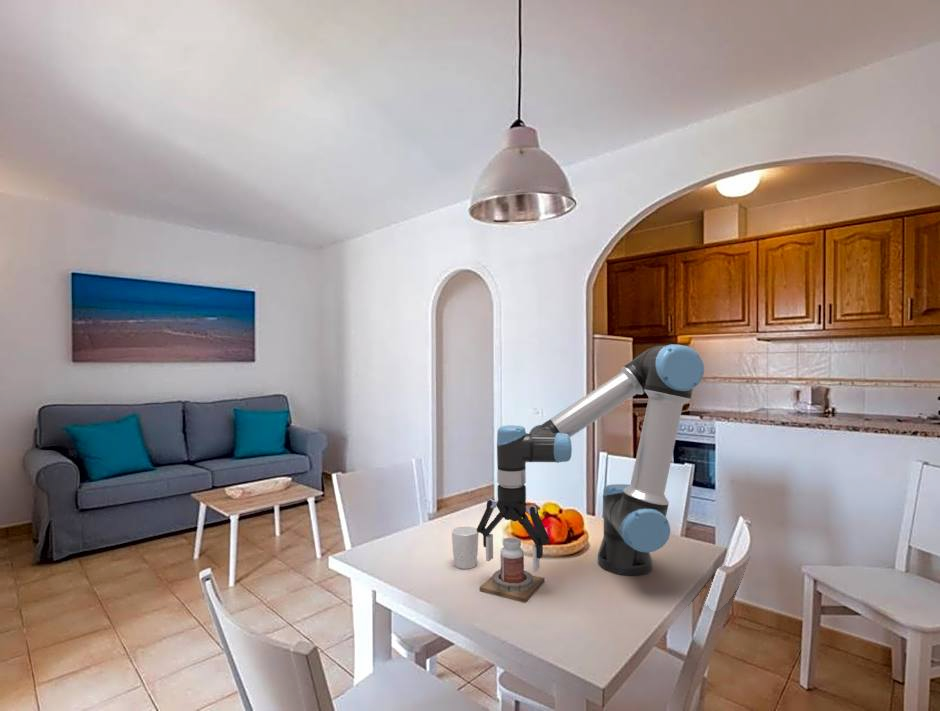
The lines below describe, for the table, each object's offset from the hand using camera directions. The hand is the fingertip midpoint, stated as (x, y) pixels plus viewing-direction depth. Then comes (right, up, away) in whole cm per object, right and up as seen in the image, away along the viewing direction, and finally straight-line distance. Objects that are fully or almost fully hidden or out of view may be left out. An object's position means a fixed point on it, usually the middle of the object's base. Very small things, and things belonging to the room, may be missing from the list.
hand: (512, 564), depth 130 cm
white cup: (-13, -6, +14) cm, 20 cm away
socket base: (0, -6, 0) cm, 6 cm away
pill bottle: (0, -5, 0) cm, 5 cm away
